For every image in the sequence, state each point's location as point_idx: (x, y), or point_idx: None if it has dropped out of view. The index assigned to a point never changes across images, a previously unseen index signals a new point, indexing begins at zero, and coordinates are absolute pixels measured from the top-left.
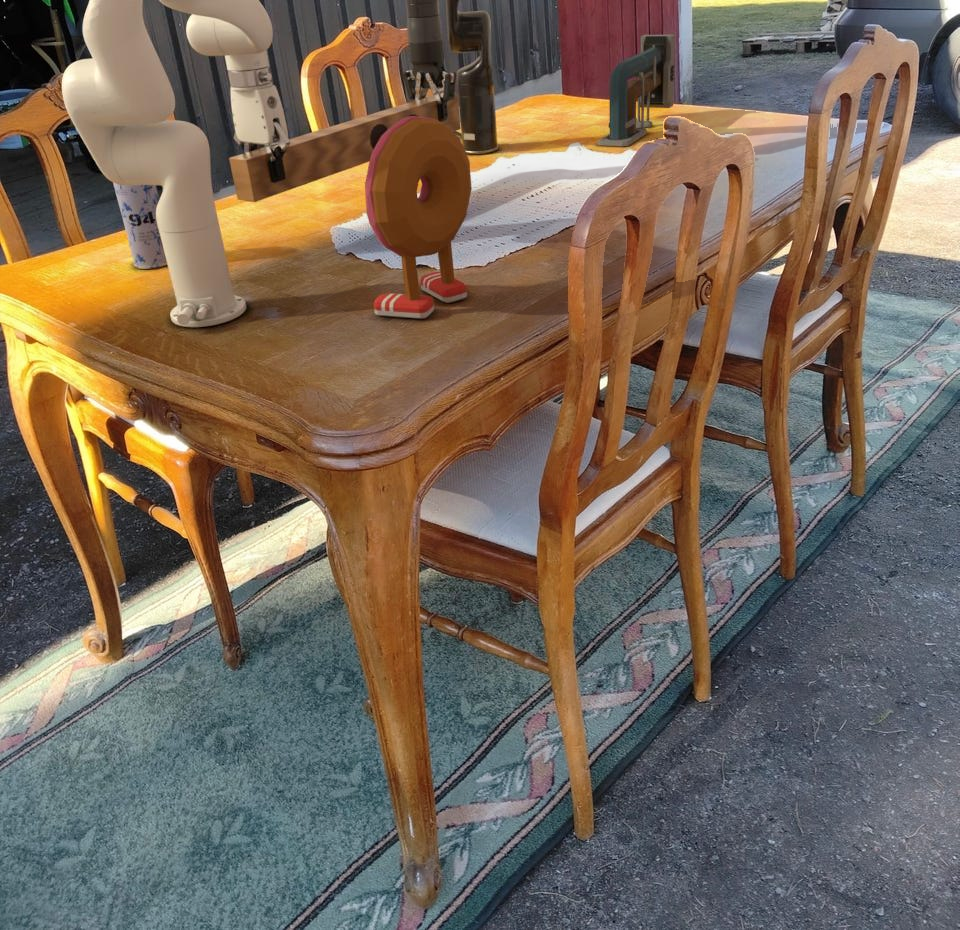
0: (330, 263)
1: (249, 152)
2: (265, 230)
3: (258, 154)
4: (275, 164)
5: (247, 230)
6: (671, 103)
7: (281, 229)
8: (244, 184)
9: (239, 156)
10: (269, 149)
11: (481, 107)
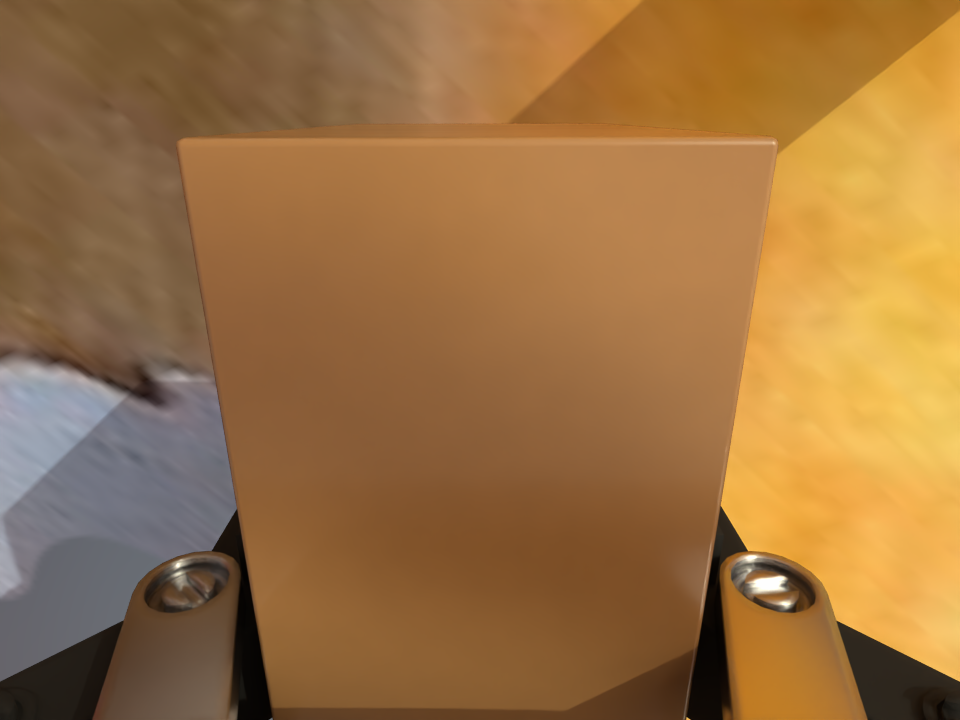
0: (107, 257)
1: (649, 590)
2: (791, 464)
3: (353, 551)
4: (222, 552)
5: (885, 431)
6: None
7: (722, 501)
8: (441, 126)
9: (613, 320)
10: (136, 699)
11: None
